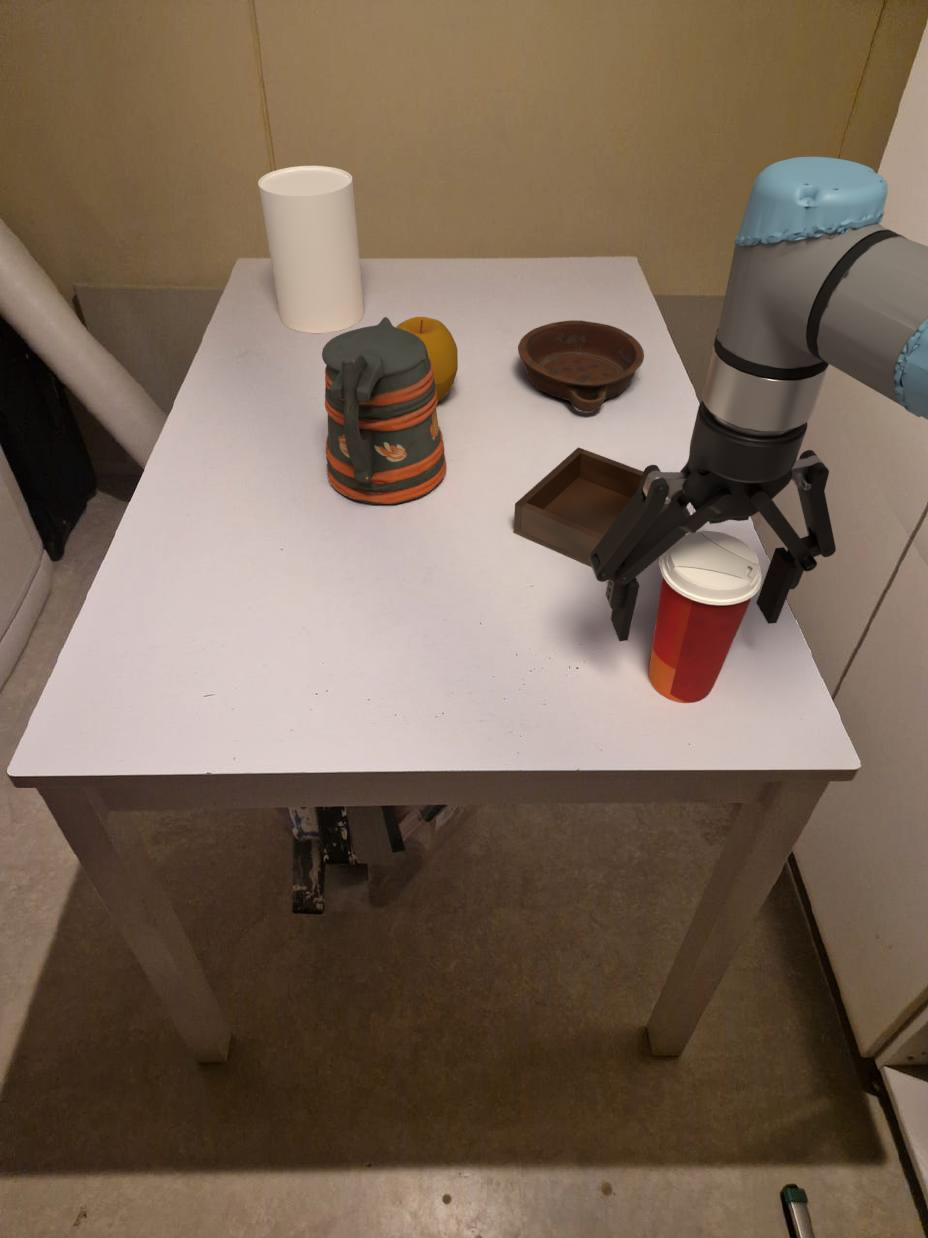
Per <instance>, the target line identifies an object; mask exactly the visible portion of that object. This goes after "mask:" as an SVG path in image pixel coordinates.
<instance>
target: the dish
mask: <svg viewBox="0 0 928 1238" xmlns="http://www.w3.org/2000/svg"><path fill="white" fill-rule="evenodd" d="M517 351H518V355H519V357H520V358H521V360H522V362H523V366H524V369H525V372H526V375H527V376H528V378H529V380H530V382H531V384H532V385H533V386H534V387H535V388H537V389H539V391H541V392H543V393H545V394H547V395H550V396H553V397H555V398H558V399H562V400H567V401H568V402H569V403H570V404H571V406H573V408H575V409H576V410H578V411H581V412H585V413H591V412H594V411H597V410H599V409H600V408H601V407H602V405H603V404H604V401H605V400H608V399H610V398H614V397H616V396H617V395H619V394H621V393H622V392H623V391H625V390H626V389H627V387H628V386H629V385H630V383H631V382H632V380H633V378H634V375H635V374H636V372H637V371H638V370H639V368H640V367H641V366H642V365H643V362H644V360H645V351H644V348H643V347H642V345H641V343H640V342H639V341H638V340H637V339H636V338H635V337H634V336H632V335H631V334H629V333H628V332H626V331H624V330H622V328H619V327H616V326H613V325H609V324H604V323H599V322H593V321H586V320H574V319H573V320H572V319H571V320H563V321H562V320H561V321H557V322H550V323H547V324H544V325H540V326H538V327H535V328H533V329H531V330H530V331H528V332H527V333H525V334H524V335H523V336H522V338H521V339H520V341H519V343H518V345H517Z"/></svg>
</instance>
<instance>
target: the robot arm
mask: <svg viewBox="0 0 928 1238" xmlns="http://www.w3.org/2000/svg"><path fill="white" fill-rule="evenodd" d="M888 189H889V188H888V183H887V181H886V179H885V178H884V177H883V176H882V175H881V174H878V173H876V172H875V170H874V169H873V168H872V167H869V166H867V165H865V164H862V163H858V162H855V161H851V160H846V159H841V158H835V157H827V156H826V157H825V156H798V157H791V158H788V159H783V160H779V161H776V162H774V163H771V164H770V165H768V166H767V167H765V168H764V169H763V170H762V171H761V172H760V173H759V174H758V175H757V177H756V178H755V180H754V182H753V184H752V187H751V190H750V193H749V198H748V200H747V203H746V208H745V211H744V214H743V217H742V220H741V224H740V227H739V231H738V234H736V236H735V237H734V249H733V253H732V259H731V264H730V270H729V276H728V279H727V285H726V290H725V294H724V295H725V296H724V301H723V305H722V309H721V314H720V319H719V324H718V327H717V329H716V334H715V338H714V342H713V345H712V350H711V353H710V358H709V363H708V366H707V371H706V375H705V379H704V384H703V389H702V392H701V399H702V400H701V402H700V403H699V405H698V407H697V408H698V409H697V413H696V415H695V416H696V417H695V420H694V425H693V430H692V434H691V439H690V442H689V443H690V444H689V455H688V460H687V461H686V462H685V465H684V466H683V467H682V468H681V470H680V471H661V470H660V468H659V466H658V465H656V464H649V465H647V466H646V467H645V468H644V470H643V475H642V478H641V481H640V484H639V487H638V490H637V491H636V493H635V494H634V495H633V497H632V498H631V499H630V501H629V502H628V503H627V505H626V506H625V508H624V509H623V510H622V512H621V513H620V514H619V516H618V517H617V518H616V520H615V521H614V522H613V524H612V525H611V527H610V528H609V529H608V531H607V532H606V533H605V535H604V536H603V537H602V539H601V540H600V542H599V543H598V544H597V546H596V547H595V548H594V550H593V551H592V552H591V554H590V555H589V561H590V564H591V566H592V567H591V566H590V567H591V568H592V571H593V574H594V576H595V578H596V580H597V581H598V582H599V583H600V582H601V583H604V582H607V583H606V590H605V597H606V600H607V601H608V604H609V607H610V610H611V615H610V622H611V624H612V627H613V629H614V632H615V635H616V637H617V639H618V642H619V643H620V642H628V641H629V636H630V632H631V628H632V622H633V618H634V614H635V608H636V604H637V599H638V594H639V589H640V584H639V581H638V579H637V577H639V575H640V574H642V573H643V572H644V571H645V570H647V568H649V567H650V566H651V565H652V564H653V563H654V562H656V560H658V559H660V556H661V555H662V554H664V553H665V552H666V551H667V550H668V549H669V548H671V547H672V546H673V545H674V544H675V543H676V542H678V541H679V540H680V539H681V538H682V537H683V536H685V535H687V534H690V533H695V532H698V531H700V529H701V528H703V526H705V525H706V524H708V523H709V525H712V524H714V525H715V524H721V523H724V522H728V521H735V522H743V521H744V522H745V521H749V519H750V517H752V516H754V515H756V514H757V513H759V514H760V515H761V516H762V518H763V519H764V520H765V522H766V523H767V524H768V525H769V527H770V528H771V529H772V530H773V532H774V533H775V534H776V536H777V537H778V539H780V541H781V542H782V543H783V545H784V546H782V547H775V549H774V551H773V554H772V556H771V559H770V563H769V566H768V568H767V571H766V574H765V576H764V580H763V581H762V584H761V587H760V590H759V594H758V597H757V599H756V602H755V604H756V605H757V607H758V609H759V610H760V613H761V614H762V615H763V617H764V619H765V621H766V623H767V624H768V625H772V624H773V625H774V624H777V623H778V620H779V618H780V615H781V613H782V610H783V608H784V605H785V603H786V600H787V597H788V595H789V592H790V590H795V589H796V588H797V587H798V585H799V584H800V581H801V579H802V577H803V574H804V572H811V571H813V570H815V569H816V567H817V566H818V562H817V560H816V558H815V557H819V556H822V557H823V558H829V557H831V556H833V555H834V554H835V553H836V551H837V547H836V542H835V538H834V532H833V526H832V522H831V517H830V513H829V508H828V502H827V498H826V491H825V490H826V487H827V482H828V480H829V479H828V478H829V475H830V470H829V469H828V467H827V466H826V465H825V462H823V461H822V459H821V458H820V457H819V456H818V455H817V453H816V452H815V451H814V450H813V449H807V450H804V451H803V452H802V453H801V454H800V456H799V453H800V450H801V447H802V445H803V441H804V438H805V437H806V436H805V435H806V433H807V430H808V422H809V420H810V419H811V418H812V416H813V414H814V411H815V409H816V405H817V403H818V402H817V401H818V400H819V397H820V394H821V390H822V387H823V384H824V381H825V378H826V375H827V371H828V369H829V366H832V367H834V369H837V370H838V371H841V372H842V373H844V374H845V375H847V376H849V377H851V378H853V379H854V380H856V381H857V382H860V383H861V384H863V385H864V386H867V387H868V388H870V389H872V390H874V391H875V392H877V393H879V394H880V395H882V396H884V397H885V398H887V399H889V400H890V401H892V402H894V403H895V404H898V405H899V406H901V407H903V408H904V409H905V411H907V412H908V413H910V414H912V415H914V416H916V417H917V418H924V419H925V420H927V421H928V245H926V244H924V243H923V244H922V243H920V242H917V241H914V240H912V239H909V238H907V237H905V236H903V235H902V234H899V233H897V232H895V231H893V230H892V229H889V228H887V227H884V226H883V225H882V224H881V222H883V217H884V215H885V213H886V212H885V205H886V201H887V197H888V191H889V190H888ZM798 456H799V457H798ZM797 458H798V459H797ZM791 481H792V482H793V483H794V484H795V486H796V489H797V493H798V497H799V502H800V506H801V511H802V514H803V519H804V523H805V528H806V532H807V535H805V536H802V537H800V536H799V534H798V533H797V532H796V530H795V529H794V527H793V526H792V525H791V523H790V522H789V521H788V519H787V518H786V517H785V515H784V513H782V511H781V510H780V509H779V507H778V505H777V504H776V503H775V501H774V500H773V499H774V498H775V497H776V496H777V495H778V494H780V493H781V492H782V491H783V490H784V489H785V488H786V487H788V485H789V484H790V482H791ZM679 490H680V491H679ZM677 491H679V492H678V493H676V494H675V495H674V496H673V497H672V498H671V496H672V495H673V494H674V493H675V492H677ZM664 504H668V507H667V508H666V509H665V510H664V511H663V512H662V513H660V512H661V510H662V508H663V506H664ZM689 504H690V505H691V506H692V508H693V510H694V512H693V513H690V511H689V509H688V505H689ZM785 547H786V548H785Z"/></svg>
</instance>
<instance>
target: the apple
mask: <svg viewBox="0 0 928 1238" xmlns="http://www.w3.org/2000/svg"><path fill="white" fill-rule="evenodd" d="M395 327H396V328H399V329H402V330H405V331H408V332H410V333H413V334H414V335H416V336H418V337H419V338H420V339H421V340H422V341H423V342H424V344H425V345H426V349H427V352H428V357H429V359H430V360H431V362H432V364H433V371H434V379H435V386H436V390H437V403H439V402H440V401H442V400H443V399H444V397H446V395H447V394H448V393H449V392H450V390H451V389H452V387H453V385H454V383H455V380H456V377H457V373H458V368H459V366H458V365H459V361H458V360H459V358H458V355H459V354H458V345H457V343H456V341H455V339H454V337H453V335H452V332H451V331H450V330H449V329H448V328H447V325H445V324H444V323H443V322H442V321H440V320H438V319H435V318H430V317H427V316H414V317H410V318H408V319H406V320H404V321H402V322H400V323H398V324H397V325H396V326H395Z"/></svg>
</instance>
